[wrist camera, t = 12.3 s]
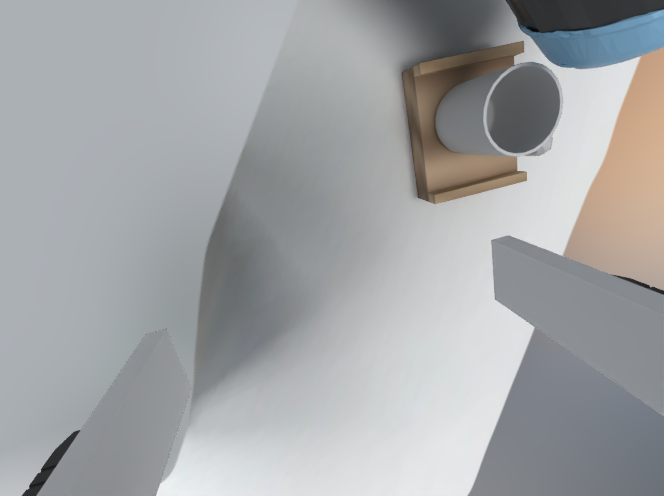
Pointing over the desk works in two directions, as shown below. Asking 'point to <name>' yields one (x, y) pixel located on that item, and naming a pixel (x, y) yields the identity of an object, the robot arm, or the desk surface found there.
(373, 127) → the desk surface
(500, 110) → the cup
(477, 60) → the wooden tray
